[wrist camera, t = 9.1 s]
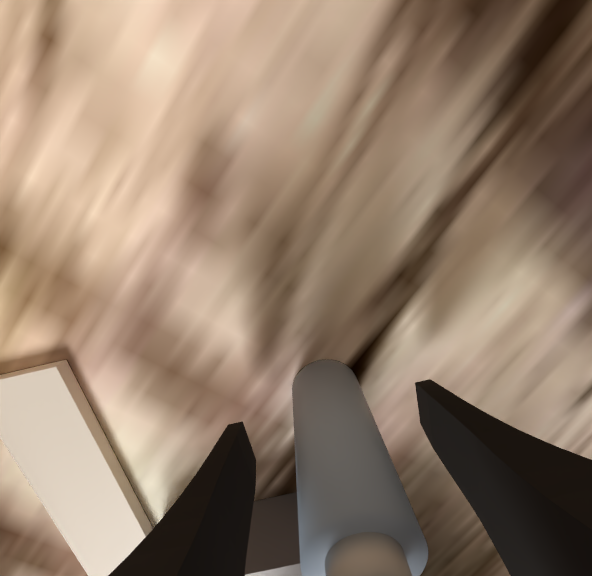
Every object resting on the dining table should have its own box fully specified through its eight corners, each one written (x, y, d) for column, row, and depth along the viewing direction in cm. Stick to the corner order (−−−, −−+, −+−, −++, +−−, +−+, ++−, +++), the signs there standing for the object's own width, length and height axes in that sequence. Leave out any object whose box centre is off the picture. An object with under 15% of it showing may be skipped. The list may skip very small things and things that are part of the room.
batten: (184, 590, 17) (181, 603, 17) (120, 604, 17) (115, 617, 17) (65, 359, 13) (55, 366, 12) (-19, 379, 13) (-33, 387, 12)
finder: (322, 549, 17) (331, 636, 14) (192, 575, 17) (169, 669, 14) (304, 485, 16) (310, 565, 12) (164, 515, 16) (130, 602, 12)
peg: (363, 409, 14) (451, 633, 7) (300, 423, 14) (318, 660, 7) (351, 352, 13) (438, 538, 6) (285, 368, 13) (287, 571, 6)
